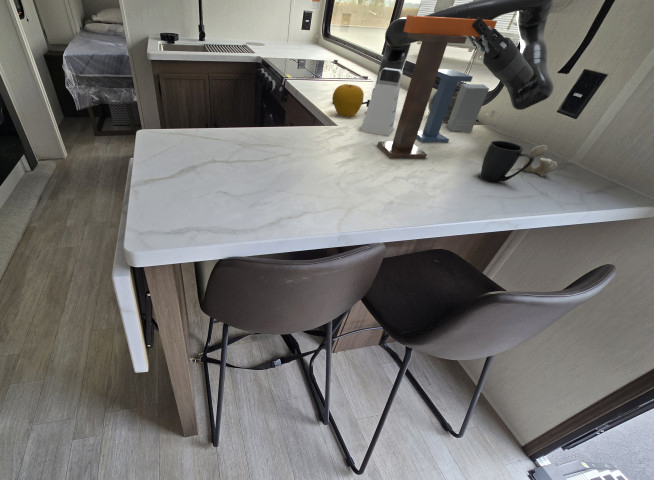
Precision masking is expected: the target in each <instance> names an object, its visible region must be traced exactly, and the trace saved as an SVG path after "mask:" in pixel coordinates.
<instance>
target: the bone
mask: <svg viewBox="0 0 654 480" xmlns="http://www.w3.org/2000/svg"><path fill="white" fill-rule="evenodd" d="M546 152H548V145H546V144H540V145H537V146H534V147H533V148H531V149H530V151H529V153H528V155H531V156H533V157H534V159H535V158H537V157H540V156H544V154H546ZM529 160H530V159H529V158H528V157H526V159H525V161H524V164H523V167H524V166H525V165H526V164H527V163H528V162H529ZM539 163H540V165H538V166H534V165H533V164H531V165H530V166H529V167H527V168H526V169H525V170H523V171H522V172H528V173H533V174H538V175H539V176H540V177H543V178H544V176H545V175H547V174H549V173H550V172H553V171H554V170H556V168H558V163H557V161H556V160H554V161H553V160H552V159H551V158H545V157H540V158H539ZM523 167H522V168H523Z"/></svg>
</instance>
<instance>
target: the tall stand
mask: <svg viewBox="0 0 654 480" xmlns="http://www.w3.org/2000/svg"><path fill="white" fill-rule="evenodd" d="M407 38H411V39H415V40H419V41H418V42H421V43H420V46H419V50H418V53H417V57H416V60H415V63H414V67H413V72H412V75H411V78H410V80H409V81H410V82H409V85H408V88H407V91H406V95H405V99H404V102H403V106H402V109H401V112H400V115H399V120H398V123H397V126H396V130H395V133H394V137H393V140H392V141H385V140H384V141H382V140H381V141H379V140H378V141H377V147H378V148H379V149H380V150H381V151H382V152H383V153H384V154H385V155H386V156H387V157H388V158H389V159H391V160H392V159H395V160H396V159H397V160H399V159H400V160H426V158H427V153H426V152H425V151H424V150H422V149H421V148H420V147H418V146H417V145H416V144H415V143H416V140H417V138H416V137H417V134H418V131H420V128H421V126H422V125H421V124H422V122H423V118H424V117H425V113H426V110H427V107H428V105H429V102H430V99H431V95H432V91H433V88H434V85H435V82H436V79H437V73H438V70H439V69H440V67H441V64H442V61H443V58H444V55H445V52H446V48H447V46H448V44H460V45H461V44H462V45H463V44H464V45H465V44H466V41H467V38H468V36H459V35H440V34H420V33H408V36H407Z"/></svg>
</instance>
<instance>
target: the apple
mask: <svg viewBox="0 0 654 480" xmlns="http://www.w3.org/2000/svg"><path fill="white" fill-rule="evenodd" d="M364 96H365V93H364V91H363V89H362V87H360V86H358V85H355V84H350V83H343V84H341V85H338V86H337V87H336V88H335V89H334V91H333V93H332V97H331V98H332V100H331V101H332V103H333V104H332V105H333V106H334V109H335V111H336V113H337V114H338V115H339V116H342V117H348V118H352V117H354V116H356V114H357V113H358V112H359V110H360V109H361V108H362V106H363V105H362V102H364V98H365V97H364Z"/></svg>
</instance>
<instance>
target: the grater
mask: <svg viewBox="0 0 654 480" xmlns="http://www.w3.org/2000/svg"><path fill="white" fill-rule="evenodd" d="M384 69H387V70H395V71H399V72H400V74H401V76H400V79H399V83H396V82H389V81H382V80H380V77H381V72H382V70H383V69H382V70H381V71H380V72H379V71H378V72H379V77H378V76H377V77H378V81H377V80H376V81H377V83H376V82H375V85H374V87H373V89H374V91H373V90H372V92H373V94H372V93H371V96H372V97H371V96H370V98H371V100H370V102H369V105H368V107H366V108H367V109H366V111H365V115H364V118H363V120H362V124H361V126H360V129H359V131H360V132H363V133H364V132H365V133H371V134H375V135H380V136H386V137H388V136H389V134H390V133H391V132H392V131H393V130H394V125H395V119H396V114H397V107H398V101H399V95H400V89H401V81H402V77H403V70H402V71H401V70H400V69H392V68H384Z"/></svg>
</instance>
